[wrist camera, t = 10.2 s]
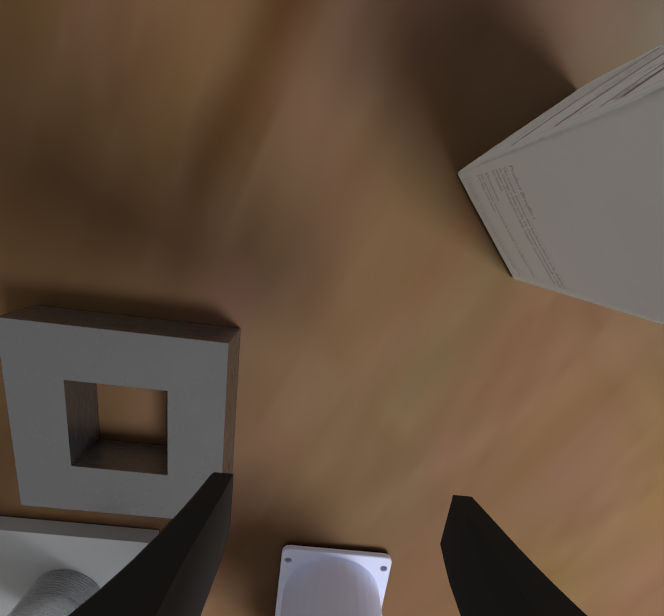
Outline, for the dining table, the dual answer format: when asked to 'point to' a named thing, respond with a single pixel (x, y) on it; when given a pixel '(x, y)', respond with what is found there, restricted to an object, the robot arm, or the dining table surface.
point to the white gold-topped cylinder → (55, 594)
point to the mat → (62, 552)
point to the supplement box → (585, 192)
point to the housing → (82, 410)
